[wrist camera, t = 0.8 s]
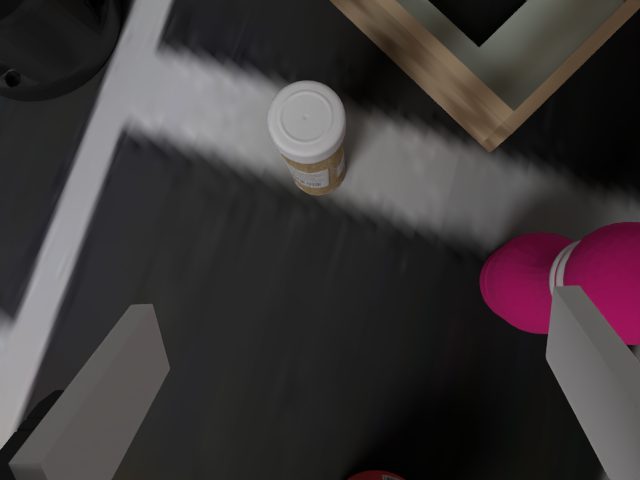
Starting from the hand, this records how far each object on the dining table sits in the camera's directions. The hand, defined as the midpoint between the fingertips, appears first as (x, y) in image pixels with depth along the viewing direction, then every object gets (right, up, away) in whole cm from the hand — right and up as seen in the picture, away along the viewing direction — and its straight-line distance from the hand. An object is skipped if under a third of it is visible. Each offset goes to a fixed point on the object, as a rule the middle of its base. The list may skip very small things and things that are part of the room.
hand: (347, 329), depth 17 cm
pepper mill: (+15, 0, +24) cm, 28 cm away
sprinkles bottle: (-1, +9, +26) cm, 27 cm away
